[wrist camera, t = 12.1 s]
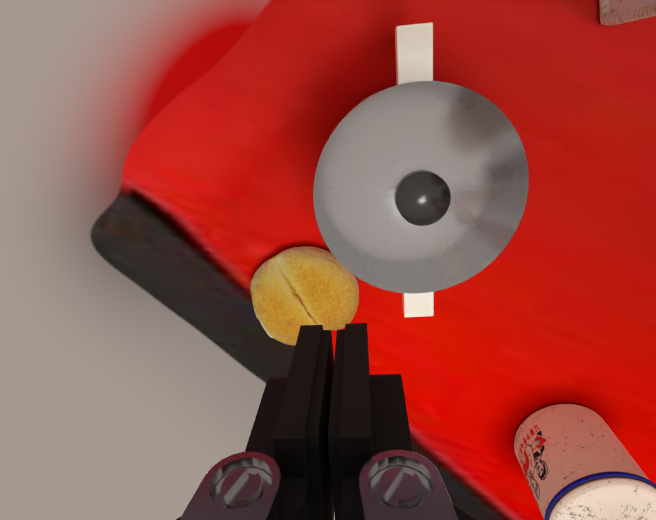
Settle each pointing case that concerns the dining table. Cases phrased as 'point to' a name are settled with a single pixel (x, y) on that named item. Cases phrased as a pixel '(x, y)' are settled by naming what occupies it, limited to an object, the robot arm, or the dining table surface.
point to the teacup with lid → (581, 467)
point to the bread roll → (303, 293)
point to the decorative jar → (625, 10)
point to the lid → (420, 187)
